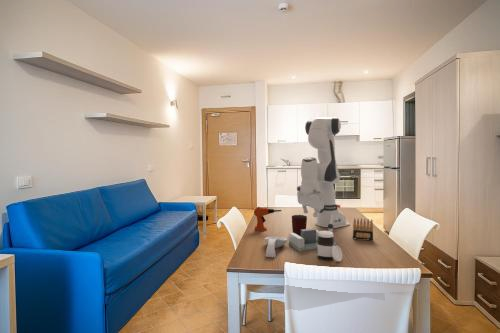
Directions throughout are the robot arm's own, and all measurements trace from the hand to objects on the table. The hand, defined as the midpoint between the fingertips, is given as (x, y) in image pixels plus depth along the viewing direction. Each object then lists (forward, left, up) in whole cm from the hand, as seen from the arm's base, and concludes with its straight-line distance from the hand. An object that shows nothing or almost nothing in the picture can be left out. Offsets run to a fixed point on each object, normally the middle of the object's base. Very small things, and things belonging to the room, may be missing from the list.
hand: (310, 214), depth 152 cm
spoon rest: (+20, -1, -17) cm, 26 cm away
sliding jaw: (-9, 0, -15) cm, 17 cm away
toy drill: (+11, -33, -17) cm, 39 cm away
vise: (-1, 0, -16) cm, 16 cm away
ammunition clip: (-33, +1, -17) cm, 37 cm away
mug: (-4, -20, -17) cm, 27 cm away
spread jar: (+1, +18, -17) cm, 25 cm away
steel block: (+1, -1, -15) cm, 15 cm away
